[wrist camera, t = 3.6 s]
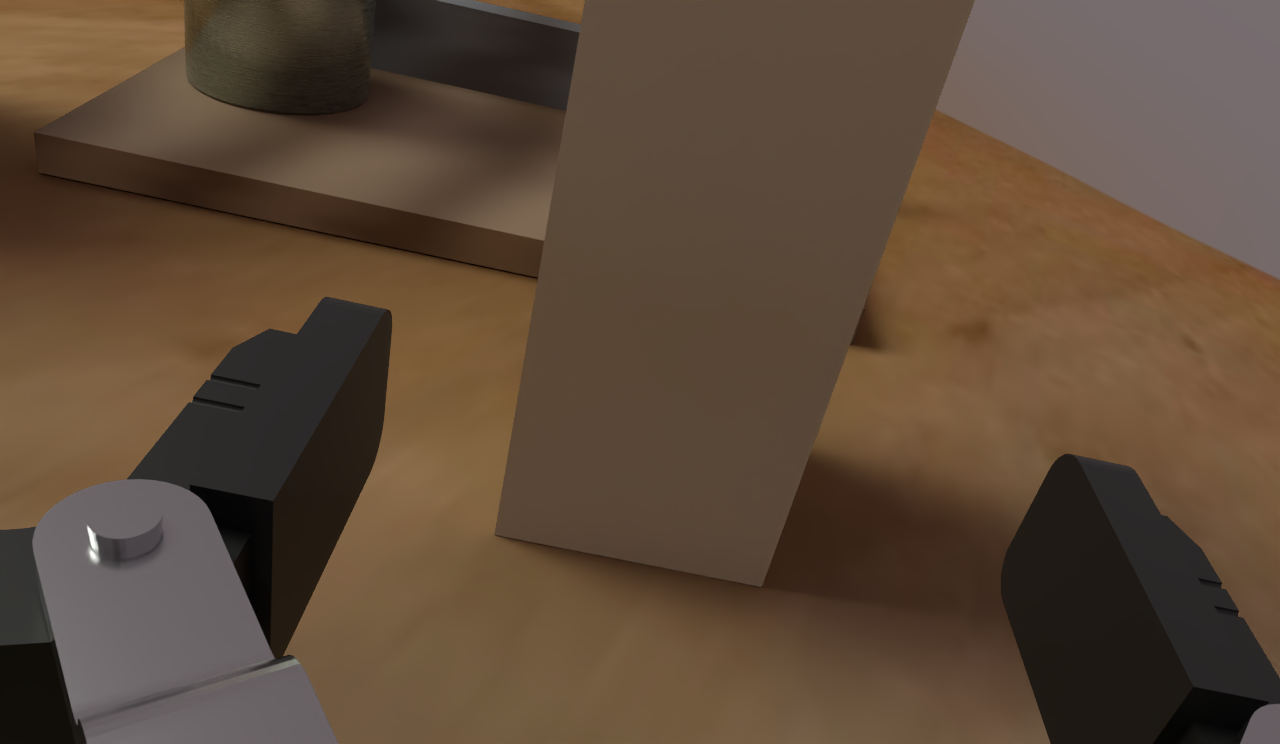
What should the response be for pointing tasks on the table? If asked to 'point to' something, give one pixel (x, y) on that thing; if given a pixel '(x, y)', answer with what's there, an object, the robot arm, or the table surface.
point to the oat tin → (281, 52)
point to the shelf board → (360, 139)
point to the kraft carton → (711, 265)
